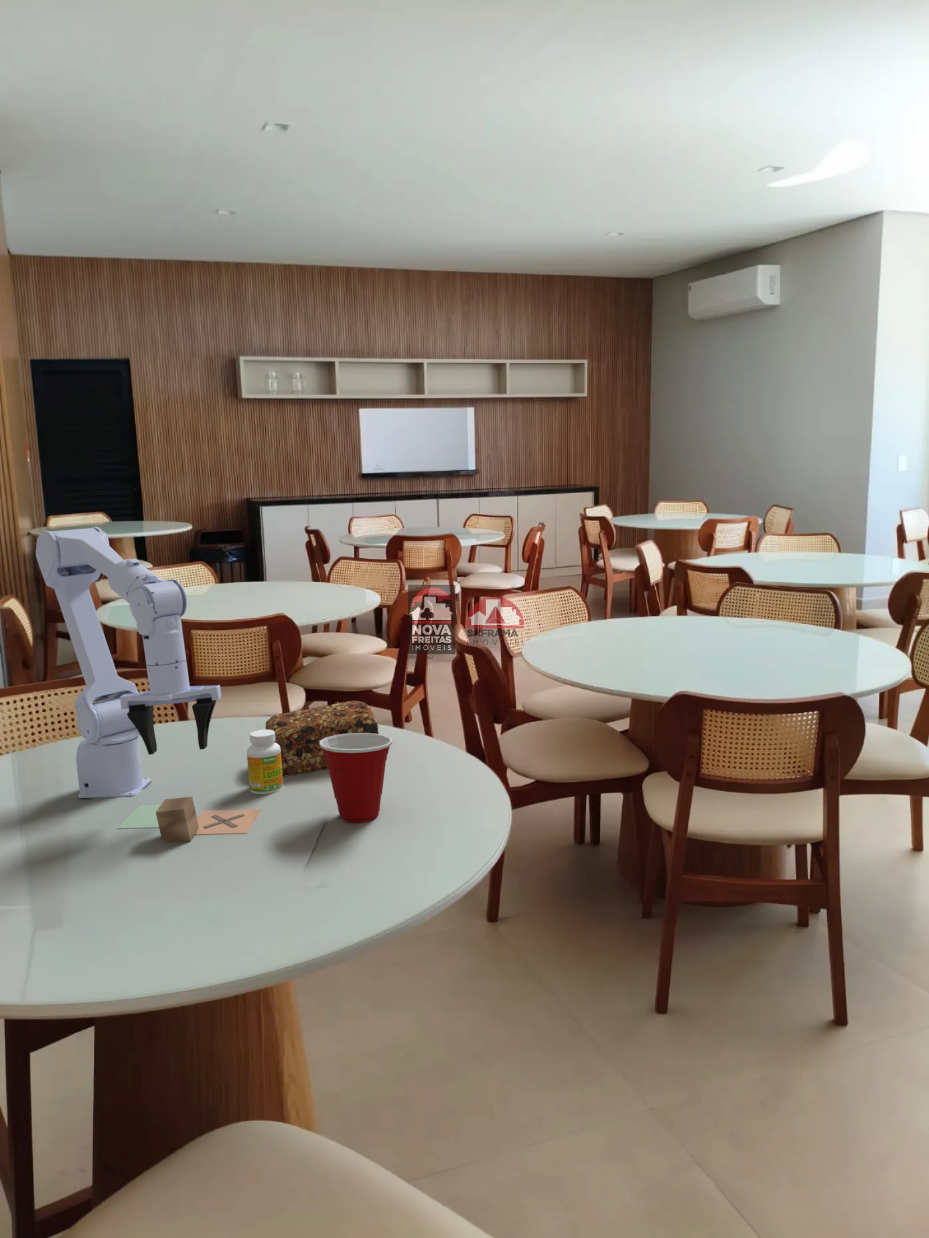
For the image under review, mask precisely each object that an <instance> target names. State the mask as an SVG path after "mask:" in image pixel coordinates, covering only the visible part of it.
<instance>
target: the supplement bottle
mask: <svg viewBox="0 0 929 1238" xmlns="http://www.w3.org/2000/svg"><path fill="white" fill-rule="evenodd" d="M274 741H275V732H274V731H273V730H266V729H259V730H254V731H252V732H250V733H249V742H250V744H251V745H249V747H247V749H246V758H247V759H246V760H247V761H246V762H247V771H248V784H249V792H250V793H252V794H257V795H268V794H274V793H276V792H279V791H281V790H283V788H284V778H283V777H284V776H283V775H282V762H281V749H280V746H279V745H278V744H277V743H274Z"/></svg>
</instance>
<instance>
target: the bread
mask: <svg viewBox="0 0 929 1238" xmlns="http://www.w3.org/2000/svg"><path fill="white" fill-rule="evenodd" d="M265 730H273V731H274V732H275V741H274V743H277V744H278V745H279V746H280V749H281V762H282V775H283V777H285V776H286V775H288V776H289V775H299V774H305V773H315V772H319V771H325V770H329V769H328V765H327V763H326V758H325V756H324V752H323V750H322V748H321V747H320V740H322V739H324V738H326V737H330V736H334V735H341V734H350V733H370V734H379V735H380V733H379V732H380V731H379V724H378V720H377V719H376V717H375V715H374V712H373V711H372V708H371V706H369V705H368V704H367V703H366V702H364V701H360V700H351V701H345V702H344V701H343V702H338V703H333V704H324V705H320V706H316V707H312V708H307V709H300V710H293V711H289V712H285V713H280V714H275V715H273V716H271V717H270V718H268V720H266V722H265Z"/></svg>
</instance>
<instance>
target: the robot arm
mask: <svg viewBox="0 0 929 1238" xmlns="http://www.w3.org/2000/svg"><path fill="white" fill-rule="evenodd" d="M35 557H36V560H37V563H38V567H39V569H40V572H41V575H42V578H43V581H44V583H45V585H46V586H47V587H48V588H49V587H50V588H51V589H54V593H55V596H56V599H57V602H58V603H59V604H58V605H59V607H60V609H61V610H60V611H61V612H62V616H63V619H64V622H65V625H66V628H67V631H68V634H69V637H70V640H71V644H72V646H73V649H74V652H75V655H76V659H77V662H78V664H79V667H80V670H81V673H82V674H81V675H82V677H83V679H84V682H85V687H84V688H83V689H82V691H80V693H79V694H78V695H77V697H76V698H75V700H74V702H73V704H74V705H73V706H74V709H75V714H76V725H77V729H78V732H79V734H80V735H81V737H82V738H83V740H81V741H80V743H79V744H78V746H77V749H76V754H75V755H76V756H75V757H76V758H75V761H76V772H77V779H78V789H79V794H78V795H77V798H78V799H93V798H117V797H118V798H120V797H123V798H124V797H127V798H128V797H135V796H137V795H138V794H139V793H140V792H141V791H142V790H144V789H145V788H146V786H148V784H150V783H151V782H152V780H153V779H152V778H151V777H143V770H142V762H141V761H142V760H141V759H142V758H141V752H140V751H141V750H140V742H139V741H140V740H139V736H140V737H141V739H142V741H143V744H144V746H145V748H146V751H147V754H148V755H154V754H155V753H156V752H157V751H158V747H157V746H158V745H157V738H156V733H155V723H154V706H160V705H169V704H180V703H190V702H191V703H192V702H195V703H194V704H192V705H191V709H192V713H193V716H194V720H195V724H196V731H197V743H198V748H199V750H205V749H206V748H207V747H208V736H209V728H210V724H211V723H210V722H211V719H212V715H213V712H214V709H215V706H216V703H217V701H219V700H220V699H221V698H222V690H221V685H220V684H217V685H193V686H192V685H191V686H190V679H189V670H188V663H187V657H186V649H185V648H186V647H185V641H184V632H183V624H182V618H181V617H183V616H184V615H185V614H186V612H187V607H188V606H187V605H188V604H187V603H188V601H187V594H186V592H185V589H184V587H183V586H182V585H181V583H180V582H178V580H177V579H174V578H171V579H167V580H166V579H161V578H160V577H159V576H157V575H156V574H155V573H153V572H151V571H150V570H149V569H148V568H147V567H145V566H144V565H142V564H141V562H140V560H138V558H127V559H124V558H122V557H121V556H120V554H118V553H117V551H116V550H114V549H113V548H112V547H111V546H110V542H109V537H108V534H107V533H106V532H105V531H103V530H102V529H101V528H100V527H99V526H92V527H90V528H89V527H88V528H77V529H74V528H73V529H63V530H62V529H61V530H53V531H50V530H44V531H41V532H40V533H39V536H38V537H37V540H36V549H35ZM101 574H102V575H104V576H106V578H107V579H108V580H107V582H108V587H109V588H110V589H111V591H113V592H114V593H115V594H117V595H118V596H120V597H121V598H122V599H123V600H124V601H125V602H126V603H128V604H129V607H130V608H129V609H130V611H131V614H132V617H133V619H134V621H135V623H136V627H137V631H138V634H139V635H142V642H143V643H142V644H143V649H144V650H143V652H144V657H145V664H146V670H147V671H146V672H147V679H148V686H149V690H148V691H146V690H145V691H140V692H139V691H138V688H137V686H136V684H135V683H133V682H131V681H130V680H127V679H125V678H123V677H120V675H118V671H117V669H116V667H115V663H114V661H113V657H112V654H111V651H110V649H109V646H108V643H107V640H106V637H105V634H104V630H103V627H102V625H101V621H100V619H99V616H98V613H97V610H96V607H95V605H94V601H93V598H92V595H91V591H90V586H91V584H93V583H95V582H97V581H98V580H99V579H100V575H101Z"/></svg>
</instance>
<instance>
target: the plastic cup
mask: <svg viewBox="0 0 929 1238" xmlns="http://www.w3.org/2000/svg"><path fill="white" fill-rule="evenodd" d="M392 744H393V739H392V737H390V736H388V735H384V734H380V733H379V734H370V733H350V734H341V735H334V736H330V737H326V738H324V739H322V740H320V747H321V748H322V750H323V752H324V756H325V758H326V763H327V765H328V769H327V770H328V773H329V778H330V782H331V786H332V791H333V795H334V799H335V801H336V805H337V811H338V815H339V816H340V819H341V820H342V821H344V822H347V823H351V824H352V823H353V824H360V823H366V822H370V821H373V820H375V819H377V817H379V814H380V811H381V800H382V799H381V798H382V795H383V787H384V779H385V773H386V770H385V769H386V763H387V759H388V754H389V750H390V747H391V745H392Z"/></svg>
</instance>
